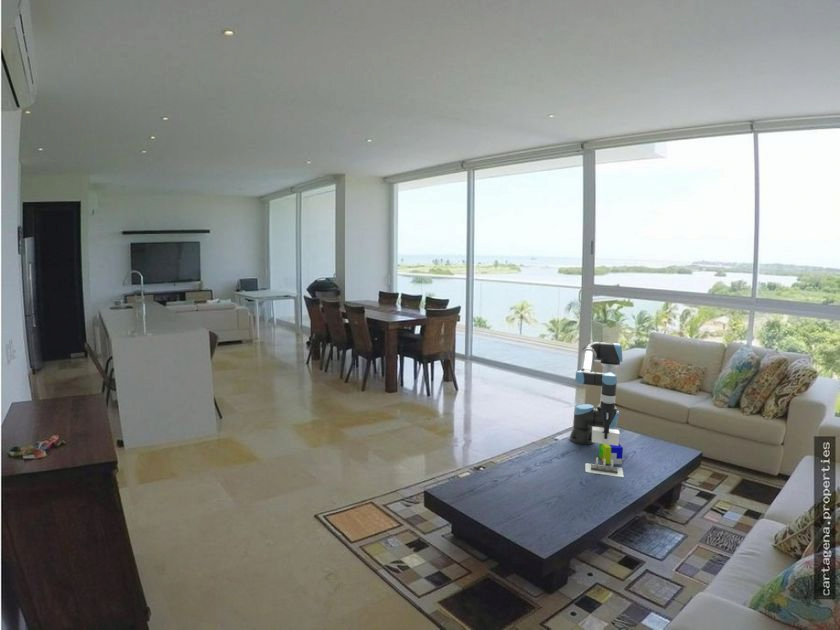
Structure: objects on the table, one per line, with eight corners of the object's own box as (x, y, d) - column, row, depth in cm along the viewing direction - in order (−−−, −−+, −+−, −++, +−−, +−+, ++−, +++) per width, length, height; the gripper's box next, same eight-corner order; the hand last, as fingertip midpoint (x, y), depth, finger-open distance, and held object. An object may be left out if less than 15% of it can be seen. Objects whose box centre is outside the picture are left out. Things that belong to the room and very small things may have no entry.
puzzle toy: (621, 464, 304) (622, 447, 302) (604, 463, 304) (605, 447, 302) (615, 457, 313) (616, 441, 312) (598, 456, 314) (600, 440, 312)
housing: (591, 442, 292) (592, 430, 291) (591, 438, 297) (592, 426, 296) (618, 445, 287) (619, 433, 286) (617, 441, 293) (618, 429, 292)
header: (585, 463, 303) (586, 452, 302) (622, 468, 297) (622, 457, 296) (585, 472, 292) (586, 461, 291) (623, 477, 286) (624, 466, 285)
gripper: (600, 396, 299) (597, 434, 302) (601, 406, 281) (598, 447, 284) (614, 397, 297) (611, 436, 300) (615, 407, 279) (612, 448, 282)
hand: (605, 441), depth 292 cm, fingers closed on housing, 6 cm apart
